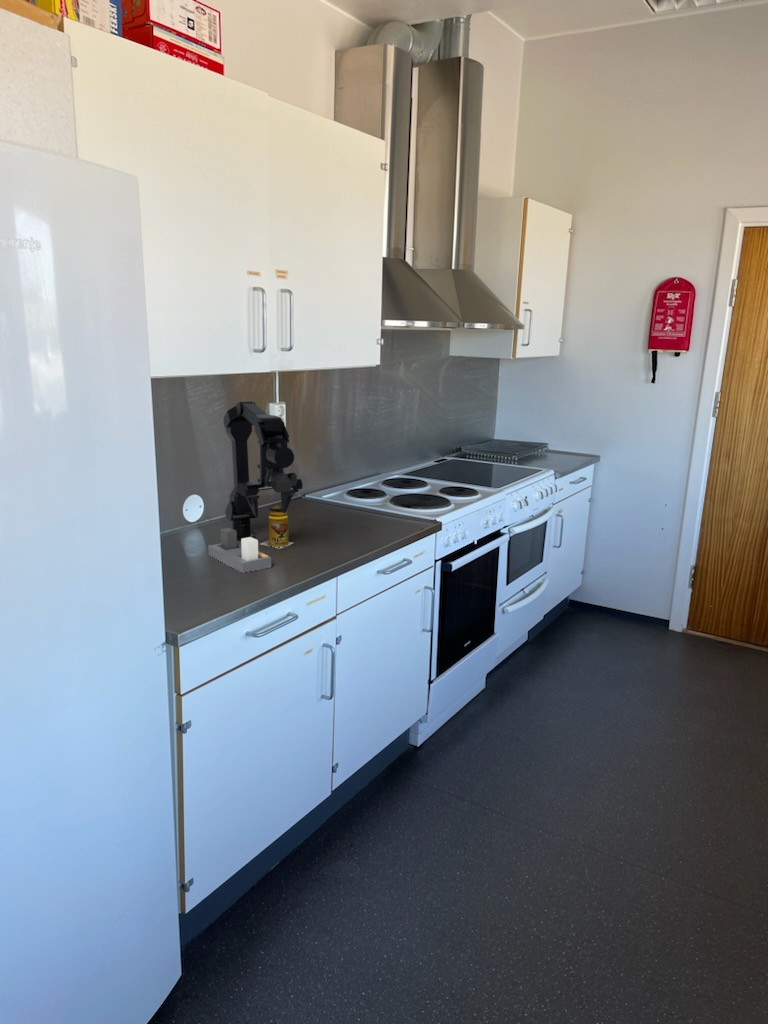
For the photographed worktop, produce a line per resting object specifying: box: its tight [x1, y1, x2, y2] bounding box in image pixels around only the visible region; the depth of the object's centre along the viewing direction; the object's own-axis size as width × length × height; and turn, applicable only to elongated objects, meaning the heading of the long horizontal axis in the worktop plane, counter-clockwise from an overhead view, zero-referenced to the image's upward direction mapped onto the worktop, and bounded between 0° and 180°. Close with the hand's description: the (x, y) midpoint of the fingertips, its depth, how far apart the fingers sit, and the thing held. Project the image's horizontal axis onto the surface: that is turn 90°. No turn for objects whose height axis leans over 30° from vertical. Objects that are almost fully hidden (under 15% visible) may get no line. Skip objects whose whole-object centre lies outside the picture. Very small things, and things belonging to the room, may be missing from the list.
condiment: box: [259, 504, 294, 550], centre depth 228 cm, size 7×8×12 cm
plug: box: [240, 537, 259, 561], centre depth 206 cm, size 4×3×8 cm
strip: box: [207, 540, 272, 574], centre depth 211 cm, size 20×9×3 cm, turn 40°
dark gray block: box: [219, 527, 238, 550], centre depth 215 cm, size 4×3×8 cm
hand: (270, 515), depth 213 cm, fingers open, 9 cm apart
